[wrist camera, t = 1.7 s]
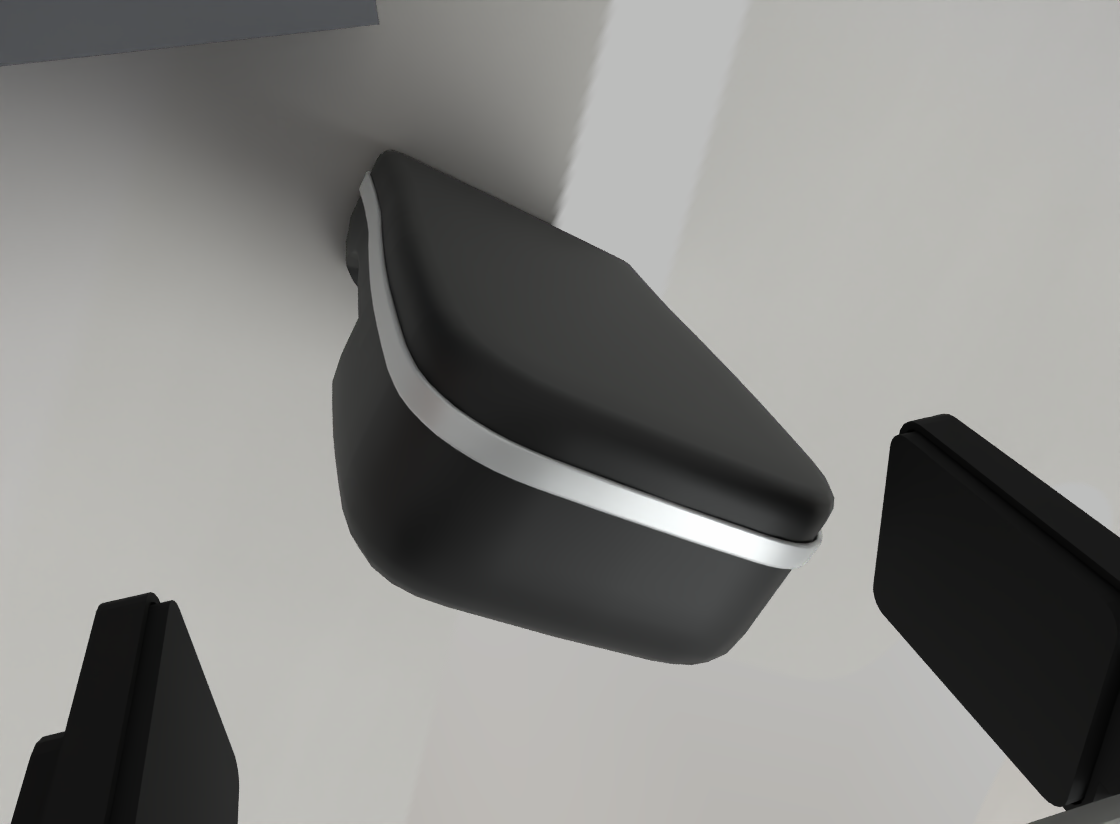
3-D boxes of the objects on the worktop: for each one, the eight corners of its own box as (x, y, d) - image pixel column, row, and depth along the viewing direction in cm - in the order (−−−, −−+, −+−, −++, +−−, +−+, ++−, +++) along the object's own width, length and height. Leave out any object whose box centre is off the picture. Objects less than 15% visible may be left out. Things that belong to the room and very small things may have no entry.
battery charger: (303, 289, 20) (300, 628, 11) (372, 133, 19) (438, 358, 10) (564, 392, 23) (748, 733, 14) (638, 263, 22) (898, 537, 12)
